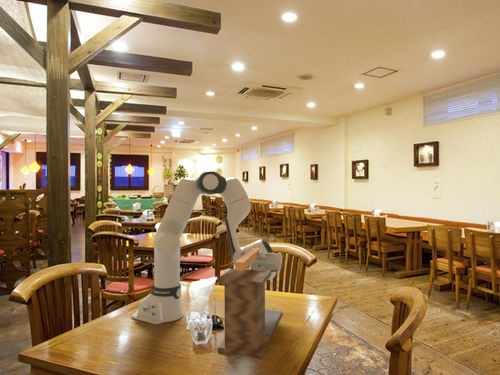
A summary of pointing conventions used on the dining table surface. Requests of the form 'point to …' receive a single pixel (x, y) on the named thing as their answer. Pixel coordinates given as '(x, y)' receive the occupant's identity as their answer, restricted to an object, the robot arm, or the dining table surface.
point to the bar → (246, 259)
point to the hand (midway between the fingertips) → (253, 252)
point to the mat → (271, 320)
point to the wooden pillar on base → (245, 313)
